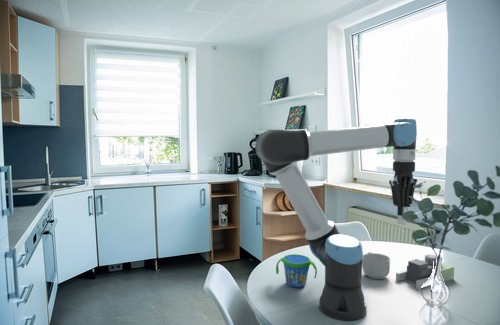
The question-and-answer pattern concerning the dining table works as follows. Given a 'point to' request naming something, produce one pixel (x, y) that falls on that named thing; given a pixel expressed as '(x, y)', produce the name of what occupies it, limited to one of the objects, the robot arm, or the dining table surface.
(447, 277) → the green and grey blocks
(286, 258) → the snack cup
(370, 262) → the teacup
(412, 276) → the dark grey stepped block
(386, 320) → the dining table surface
